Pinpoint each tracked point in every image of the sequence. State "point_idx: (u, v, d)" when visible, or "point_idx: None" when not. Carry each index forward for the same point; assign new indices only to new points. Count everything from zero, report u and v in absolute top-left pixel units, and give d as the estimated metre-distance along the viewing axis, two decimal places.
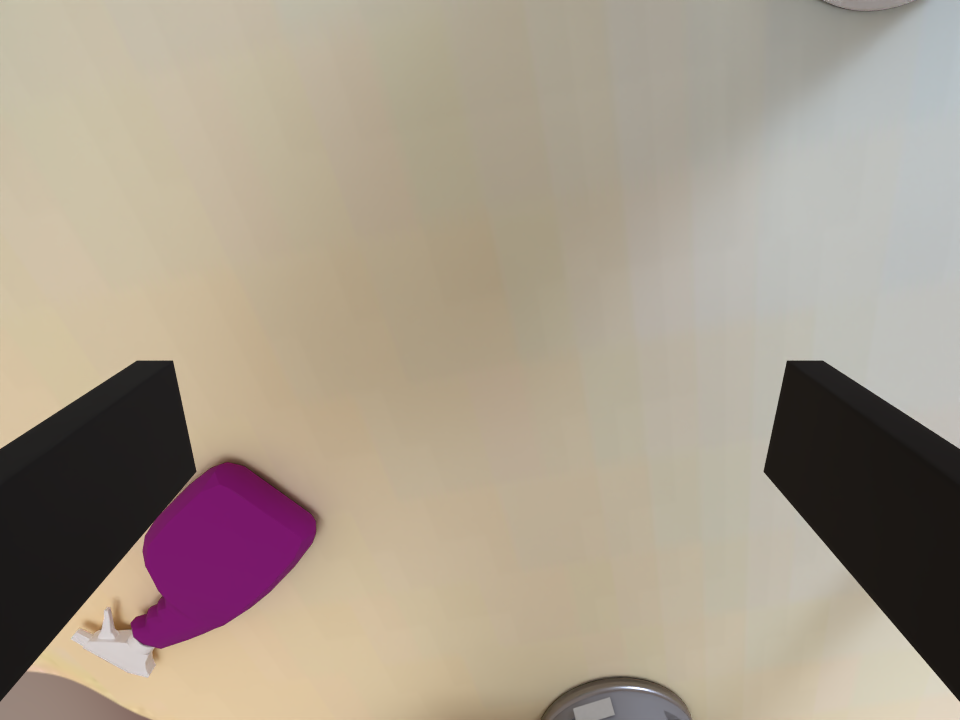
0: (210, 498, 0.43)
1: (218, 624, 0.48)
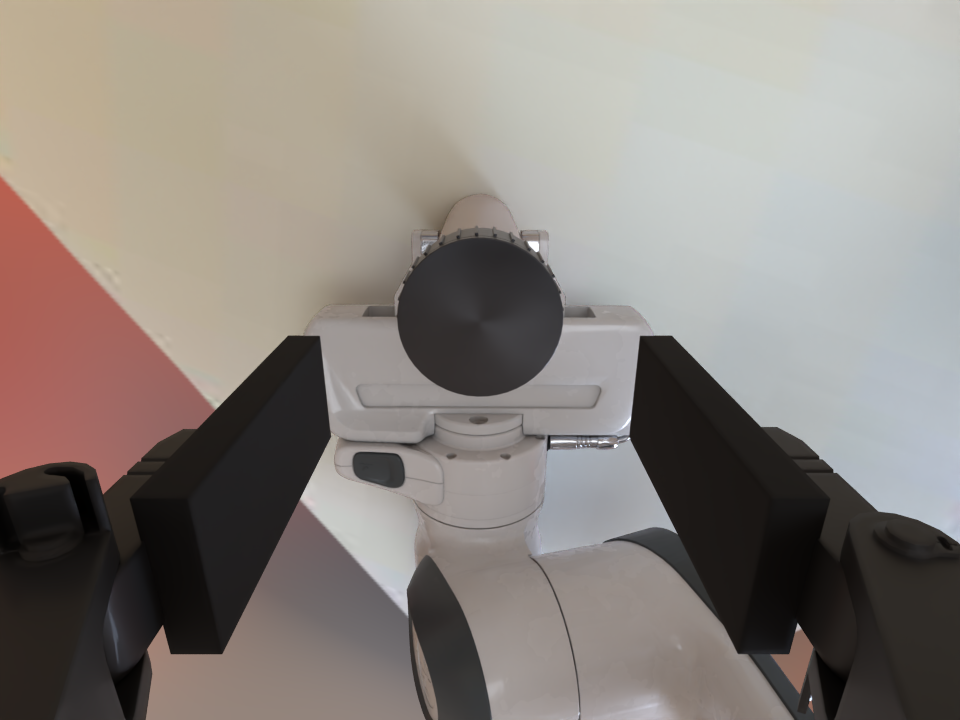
0: None
1: None
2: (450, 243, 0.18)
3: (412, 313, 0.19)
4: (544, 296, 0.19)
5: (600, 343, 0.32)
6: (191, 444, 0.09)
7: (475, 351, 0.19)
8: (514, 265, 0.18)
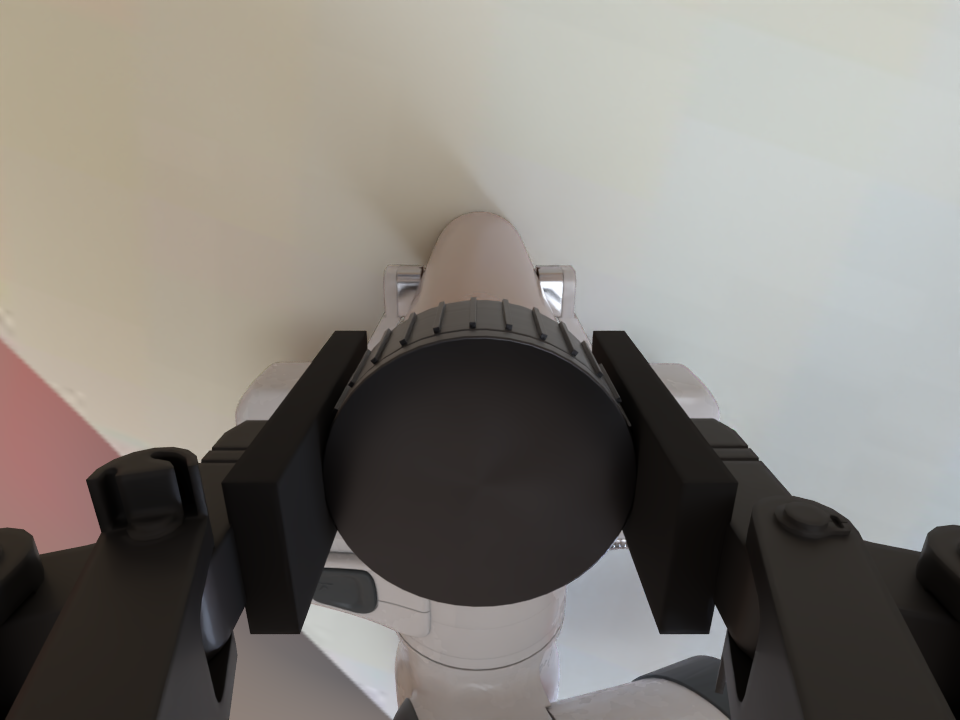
0: None
1: None
2: (420, 346, 0.09)
3: (350, 472, 0.10)
4: (603, 442, 0.10)
5: None
6: (267, 433, 0.09)
7: (471, 535, 0.10)
8: (546, 387, 0.09)
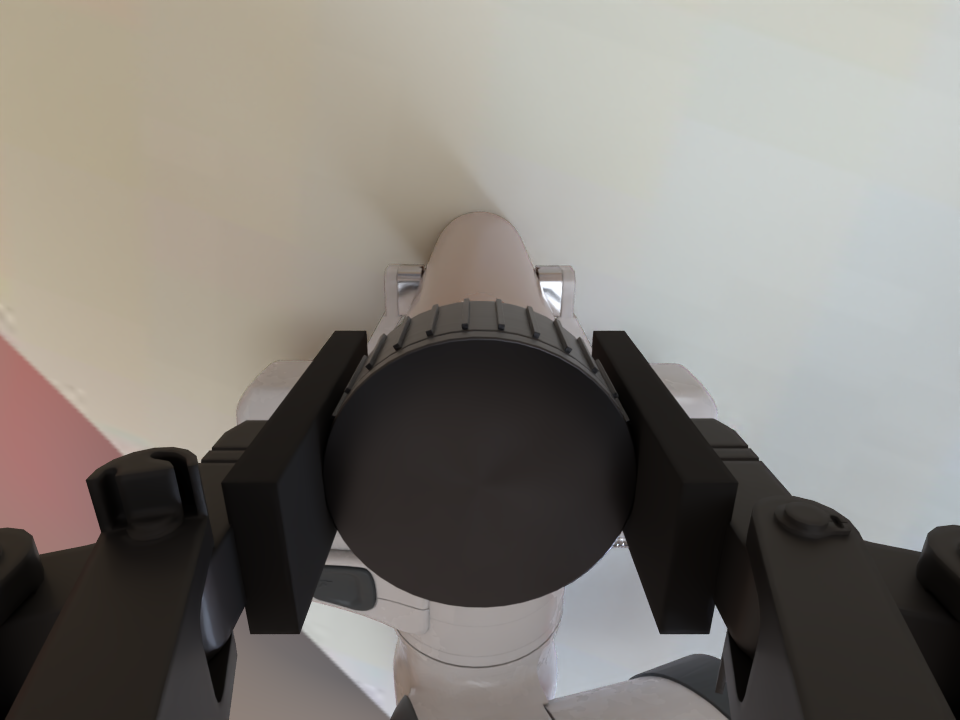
0: None
1: None
2: (354, 551, 0.11)
3: (489, 588, 0.11)
4: (401, 388, 0.09)
5: None
6: (267, 433, 0.09)
7: (540, 484, 0.10)
8: (359, 453, 0.10)
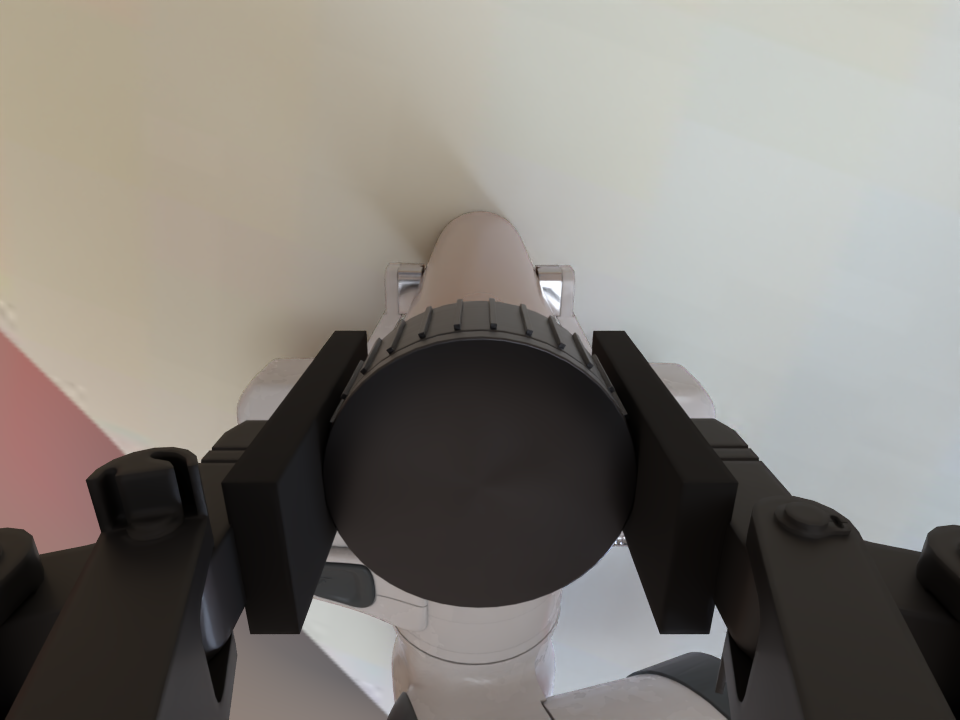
0: None
1: None
2: (581, 573, 0.11)
3: (606, 454, 0.10)
4: (395, 562, 0.11)
5: None
6: (267, 432, 0.09)
7: (463, 435, 0.10)
8: (467, 583, 0.11)
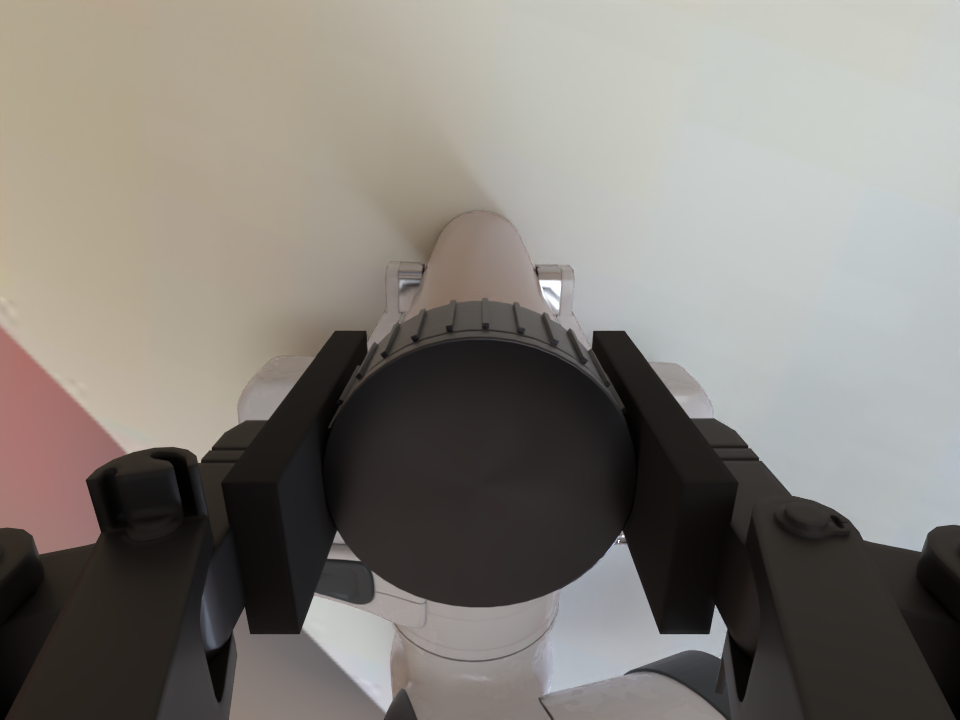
0: None
1: None
2: (574, 364, 0.09)
3: (413, 383, 0.09)
4: (585, 542, 0.10)
5: None
6: (267, 432, 0.09)
7: (426, 510, 0.10)
8: (604, 475, 0.10)
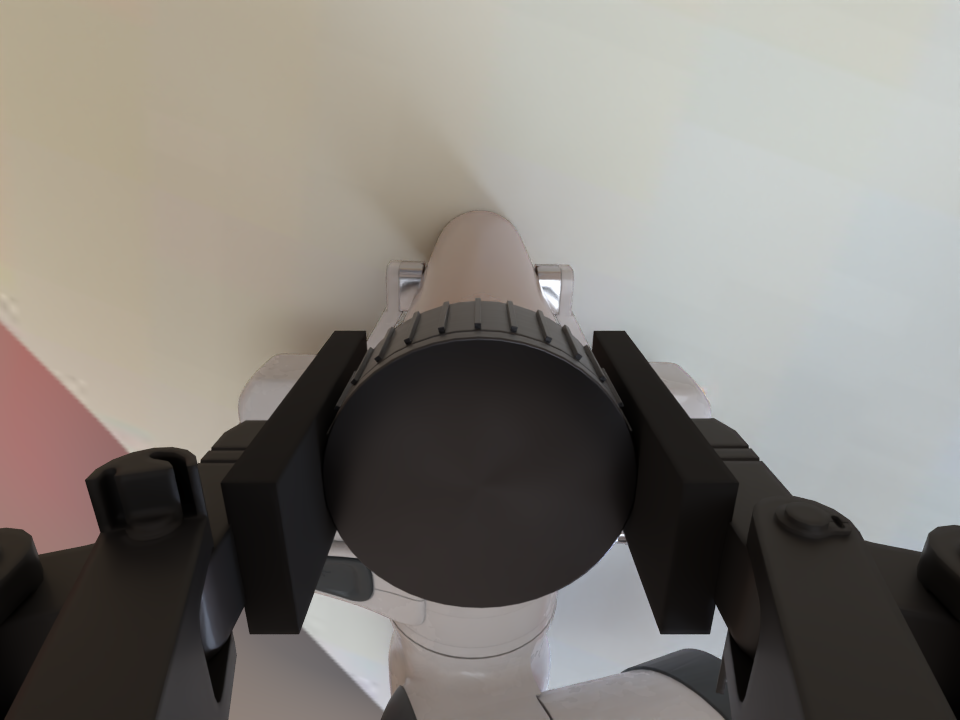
0: None
1: None
2: (329, 433, 0.10)
3: (387, 555, 0.10)
4: (527, 374, 0.09)
5: None
6: (266, 433, 0.09)
7: (517, 526, 0.10)
8: (438, 378, 0.09)
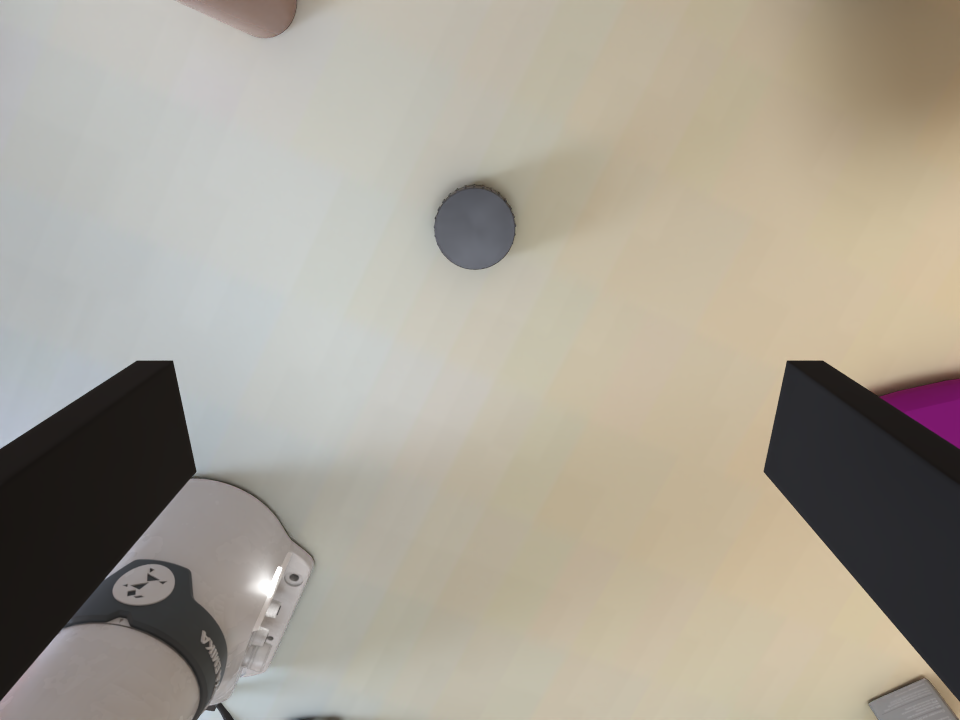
0: None
1: None
2: (437, 214, 0.39)
3: (450, 251, 0.40)
4: (486, 197, 0.38)
5: None
6: None
7: (484, 241, 0.39)
8: (464, 198, 0.38)
